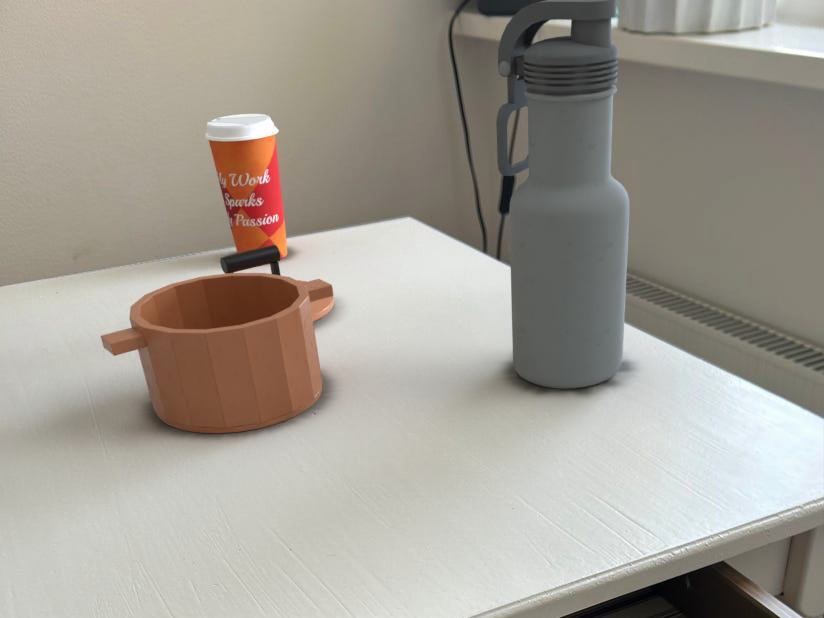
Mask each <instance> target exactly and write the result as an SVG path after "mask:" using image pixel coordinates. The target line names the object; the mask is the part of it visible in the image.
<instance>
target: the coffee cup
mask: <svg viewBox="0 0 824 618" xmlns="http://www.w3.org/2000/svg"><path fill="white" fill-rule="evenodd" d="M274 123H275V122H274V121H273V120H272V119H271V116H269V115H268V114H263V113H241V114H240V113H239V114H230V115H226V116H220V117H216V118H214V119H212V120H210V121H207V123H206V132H205V134H204V138H205V139H206V140H208V142H209V147H210V151H211V155H212V159H213V162H214V166H215V167H214V168H215V171H216V174H217V179H218V183H219V187H220V191H221V195H222V199H223V202H224V207H225V211H226V215H227V219H228V222H229V226H230V231H231V234H232V238H233V239H232V240H233V242H234V245H235V250H236V254H237V253H241V252H245V251H249V250H254V249H258V248H262V247H266V246H270V245H276V246H277V247H278V249H279V251H280V256H281V259H283V258H285V257H287V255H288V243H287V231H286V224H285V223H286V222H285V211H284V202H283V193H282V184H281V176H280V166H279V157H278V148H277V147H278V146H277V137H276V134H278V133H279V131H280V130H279V129H278V128H277V127H276V125H275V124H274Z"/></svg>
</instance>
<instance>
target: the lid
mask: <svg viewBox="0 0 824 618" xmlns="http://www.w3.org/2000/svg"><path fill="white" fill-rule="evenodd" d="M281 259H282V258H281V256H280V251H279V249H278V247H277V246H276V245H270V246H266V247H262V248H258V249H254V250H249V251H245V252H241V253H237V252H236V253H233V254H228V255H224V256H221V257H220V260H219V262H220V267H221V270H222V272H223V274H227V273H239V272H241V271H245V270H250V269H253V268H259V267H262V266H266V265H269V266H270V267H269V268H270V271H271V273H270V274H274V275H280V276H282V275H281V269H280V263H279V262H280V261H281ZM296 280H297V281H299V282H301V283H304V282H308V281H307V280H299V279H296ZM310 304H311V311H312V317H313V322H316V321H318V320H320V319H321V318H323V317H324V316H325V315H327V314H329V312H330V311H331V310H332V309H333V307H334V304H335V298H334V295H333V296H331V297H328V298H324V299H320V300H317V301H313V302H310Z"/></svg>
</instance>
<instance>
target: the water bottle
mask: <svg viewBox="0 0 824 618" xmlns="http://www.w3.org/2000/svg"><path fill="white" fill-rule="evenodd" d="M617 3H618V1H617V0H542V1H538V2H533V3H531V4H529V5H526V6H523V7H522V8H521V9H519V11H517V12H516V13H515V14H514V15H513V16H512V17H511V19H510V20H509V22H508V23H506V25H505V28H504V30H503V32H502V34H501V37H500V41H499V44H498V50H497V52H498V53H497V71H498V73H499V75H500V76H501V77H503V78H506V80H507V81H506V82H507V83H506V84H507V87H506V88H507V102H506V103H503V104H502V105H501V106H500V107H499V109H498V111H497V115H496V125H495V126H496V153H497V157H496V158H497V168H498V172H499V173H500V175H502V176H504V177H506V176H507V177H512V176H515V175H516V174H519V173H521V172H523V171H526V170H528V176H527V178H526V180H524V181H523V182H522V183H520V184H519V185H518V186H517V188H515V190H514V192H513V193H512V195H511V197H510V201H509V211H508V213H509V214H508V215H509V253H510V254H509V255H510V257H509V259H510V261H509V262H510V296H511V335H512V337H511V339H512V364H513V368H514V369H515V370H514V371H516V373H517V374H518V375H519V377H521V378H522V379H524V380H526V381H527V382H529V383H531V384H534V385H538V386H541V387H546V388H550V389H551V388H552V389H563V390H564V389H565V390H566V389H580V388H587V387H591V386H594V385H598V384H601V383H603V382H605V381H608V380H609V379H611V378H612V377H614V376H615V375H616V374H617V373H618V372H619V370H620V369H621V367H622V363H623V358H624V357H623V356H624V338H625V336H624V335H625V314H626V293H627V275H628V273H627V270H628V252H629V251H628V250H629V230H630V229H629V227H630V224H629V223H630V198H629V194H628V191H627V190H626V188H625V187H624V185H623V184H622V183H621V182H620V181H618V180H616V178H614V177H613V175H612V173H611V168H612V167H611V166H612V144H613V143H612V142H613V141H612V139H613V137H612V136H613V112H614V111H613V109H614V95H615V94H616V93H617V91H618V88H617V86H616V84H617V83H618V76H617V75H618V68H619V66H618V61H619V60H618V59H619V58H618V57H619V48H618V46H617V45H616V44H614V43H613V42H612V37H613V36H612V18H616V17H617ZM554 20H557V21H558V20H559V21H560V20H564V21H565V20H567V21H570V35H562V36H555V37H549V38H545V39H542V40H539V41H536V42H534V41H535V38H536V36H537V35H538V33H539V31H540V30H541V29H542V28H543V26H544V25H545V24H547V23H548V22H549V21H554ZM525 107H527V135H528V137H527V143H528V144H527V148H528V154H527V155H526V157H525V158H524V159H523V160H521V161H519V162H516V163H514V164H512V165H511V164H510V161H509V154H508V153H509V152H508V122H509V119H510V116H511V114H512V113H513V112H515V111H517V110H519V109H522V108H525Z"/></svg>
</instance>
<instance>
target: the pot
mask: <svg viewBox="0 0 824 618" xmlns="http://www.w3.org/2000/svg"><path fill="white" fill-rule="evenodd" d="M280 275H281V274H280ZM280 275H274V274H272V273H267V272H234V273H227V274H225V273H220V274H213V275H204V276H199V277H198V276H197V277H194V278H190V279H186V280H182V281H178V282H177V281H176V282H174V283H170V284H167V285H165V286H162V287H160V288H157V289H155V290H152V291H150V292H148V293H146V294H144V295H143V296H141V298H139V299H137V301H135V302H134V303H133V304H132V305H130V309H129V322H130V326H131V327H128V328H125V329H121V330H117V331H113V332H110V333H106V334H102V335H100V340H101V343H102V347H103V348H104V349H105V350H106V351H107V352H108V353H110V354H111V355H112V356H115V357H116V356H119V355H122V354H127V353H129V352H133V351H137V353H138V356H139V359H140V364H141V367H142V371H143V375H144V378H145V383H146V386H147V389H148V392H149V393H148V394H149V397H150V400H151V404H152V408H153V410H154V411H155V414H156V416H157V417H158V419H160V421H162V422H163V423H164V424H166V425H168V426H170V427H172V428H175V429H178V430H182V431H186V432H192V433H199V434H200V433H201V434H227V433H228V434H229V433H239V432H240V433H241V432H246V431H252V430H258V429H263V428H266V427H267V428H268V427H270V426H273V425H277V424H280V423H283V422H285V421H288V420H290V419H292V418H295V417H297V416H299V415H300V414H302V413H305V411H307V410H309V408H311V407H312V406H313V405H315V404H316V403H317V401H318V400H319V399H320V398H321V394H323V393H322V392H323V385H324V384H323V377H322V371H321V363H320V358H319V351H318V345H317V338H316V330H315V325H314V321H313V317H312V311H311V304H310V302H313V301H317V300H320V299H324V298H328V297H331V296H333V297H334V289H333V285H332V284H331V283H329V282H327V281H324V280H323V279H321V278H317V279H312V280H308V281H307V282H304V283H301V282H299V281H297V280H298V279H295V278H293V277H291V276H285V275H281V276H280Z"/></svg>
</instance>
